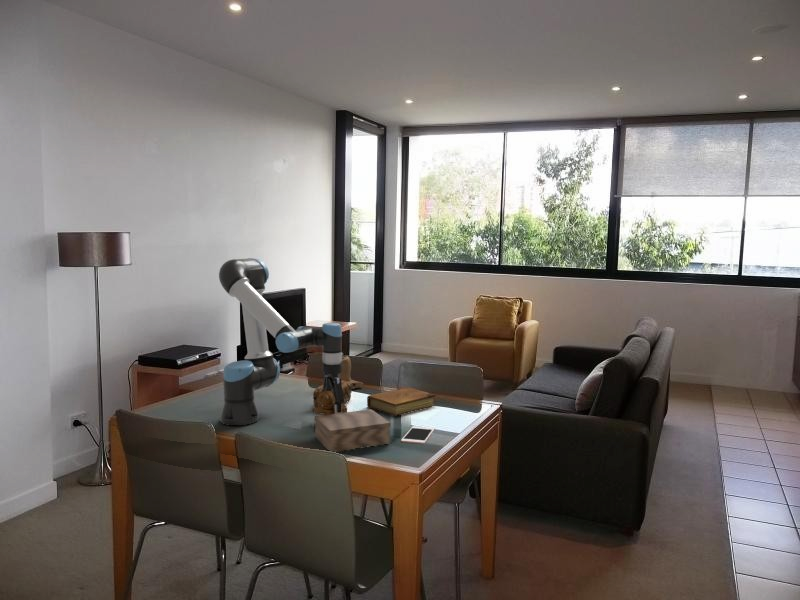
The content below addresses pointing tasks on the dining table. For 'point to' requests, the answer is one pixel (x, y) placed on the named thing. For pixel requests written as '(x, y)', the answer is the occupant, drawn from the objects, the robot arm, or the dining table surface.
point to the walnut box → (352, 430)
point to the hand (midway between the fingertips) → (333, 415)
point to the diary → (400, 401)
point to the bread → (346, 393)
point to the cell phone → (418, 435)
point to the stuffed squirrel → (327, 404)
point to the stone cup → (348, 373)
